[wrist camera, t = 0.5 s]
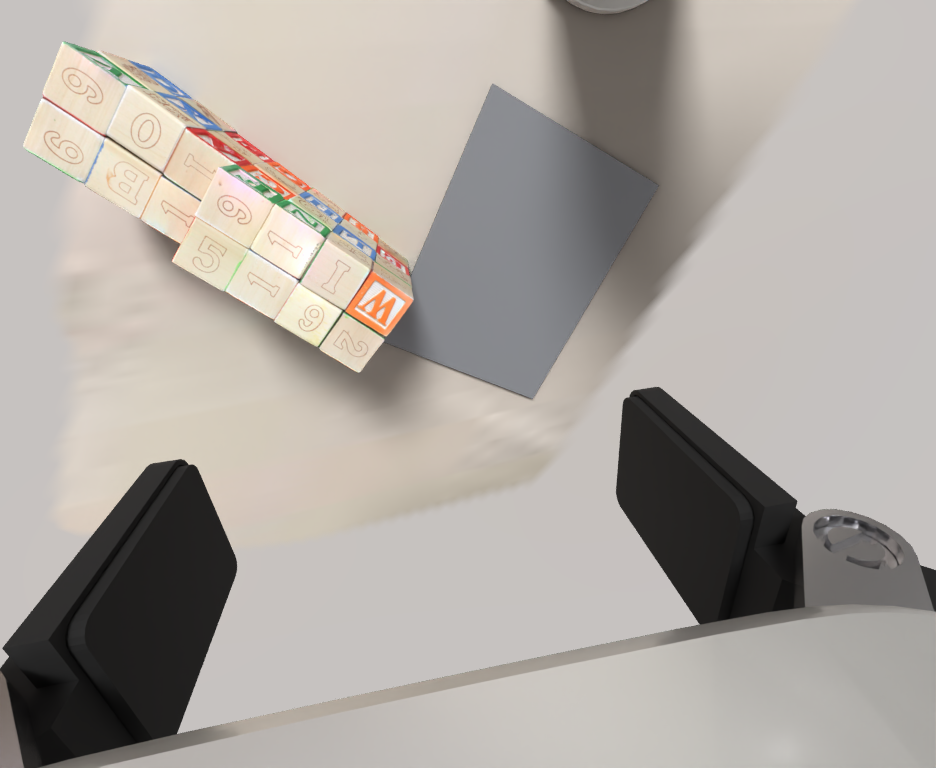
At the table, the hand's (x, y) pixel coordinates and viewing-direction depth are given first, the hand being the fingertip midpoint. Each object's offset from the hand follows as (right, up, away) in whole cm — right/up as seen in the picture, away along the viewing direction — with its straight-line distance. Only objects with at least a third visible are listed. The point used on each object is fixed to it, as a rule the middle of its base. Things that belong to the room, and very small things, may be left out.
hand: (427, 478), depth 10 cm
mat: (+5, +13, +30) cm, 33 cm away
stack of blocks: (-14, +16, +26) cm, 33 cm away
